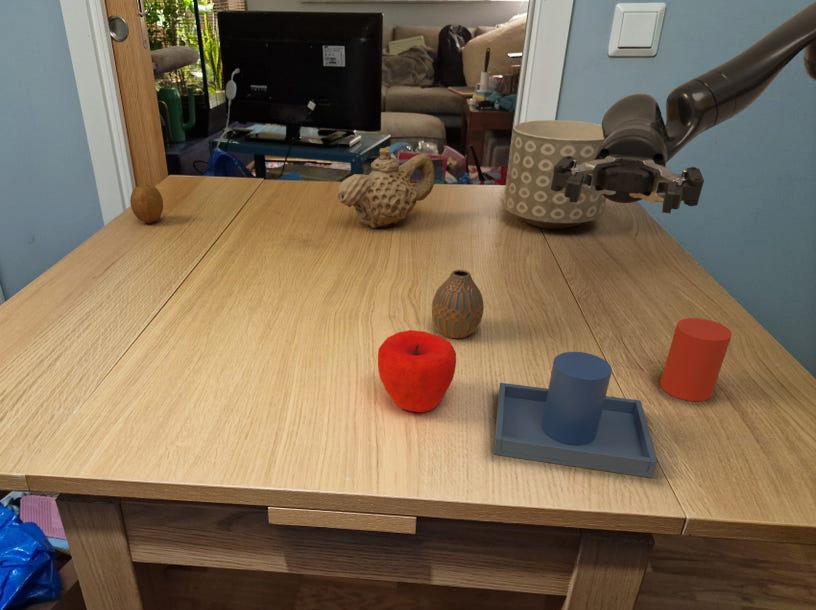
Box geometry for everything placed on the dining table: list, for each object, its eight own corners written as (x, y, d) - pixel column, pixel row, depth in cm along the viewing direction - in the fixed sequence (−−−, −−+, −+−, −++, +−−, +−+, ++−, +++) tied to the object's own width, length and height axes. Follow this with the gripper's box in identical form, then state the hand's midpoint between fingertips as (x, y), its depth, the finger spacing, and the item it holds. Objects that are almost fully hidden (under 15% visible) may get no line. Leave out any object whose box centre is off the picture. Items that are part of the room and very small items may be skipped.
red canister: (705, 379, 81) (725, 320, 77) (716, 404, 76) (737, 342, 72) (656, 373, 82) (672, 315, 78) (664, 397, 77) (682, 337, 73)
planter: (536, 203, 145) (550, 116, 136) (618, 224, 132) (638, 130, 123) (482, 221, 134) (493, 128, 125) (565, 245, 122) (583, 144, 113)
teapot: (353, 241, 124) (354, 159, 116) (324, 223, 132) (324, 146, 125) (445, 224, 132) (452, 147, 125) (413, 209, 141) (417, 136, 134)
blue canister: (593, 418, 72) (609, 355, 68) (598, 449, 68) (614, 382, 64) (541, 411, 74) (552, 348, 70) (541, 441, 69) (554, 375, 65)
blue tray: (636, 415, 74) (640, 400, 73) (652, 478, 64) (657, 462, 64) (497, 396, 77) (500, 382, 76) (493, 454, 68) (495, 438, 67)
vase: (488, 329, 92) (496, 270, 88) (467, 348, 87) (474, 287, 83) (443, 316, 96) (448, 259, 91) (421, 335, 91) (425, 275, 86)
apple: (366, 386, 79) (367, 328, 75) (435, 378, 81) (440, 320, 77) (388, 429, 71) (391, 367, 68) (464, 419, 73) (471, 357, 69)
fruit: (169, 218, 135) (164, 179, 131) (159, 228, 130) (154, 187, 126) (140, 217, 136) (134, 178, 132) (128, 227, 130) (122, 186, 127)
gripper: (689, 200, 76) (691, 245, 63) (561, 187, 81) (538, 225, 68) (707, 133, 72) (713, 165, 59) (572, 123, 77) (550, 150, 64)
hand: (620, 197), depth 64 cm, fingers open, 8 cm apart
